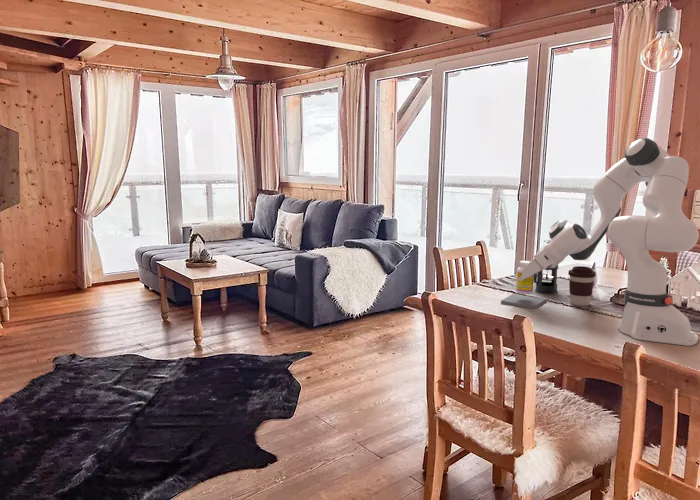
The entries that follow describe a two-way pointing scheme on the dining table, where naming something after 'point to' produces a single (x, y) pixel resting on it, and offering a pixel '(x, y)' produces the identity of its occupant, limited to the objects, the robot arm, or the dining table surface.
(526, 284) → the supplement bottle
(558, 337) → the dining table surface
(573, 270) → the coffee cup
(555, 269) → the french press
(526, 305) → the mat
